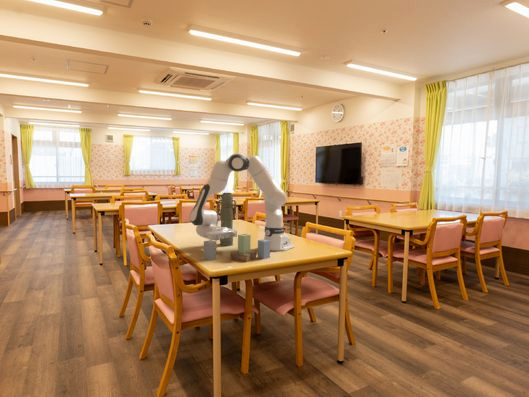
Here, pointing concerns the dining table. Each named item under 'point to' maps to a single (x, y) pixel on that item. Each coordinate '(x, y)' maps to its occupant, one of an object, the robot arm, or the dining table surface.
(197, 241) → the dining table surface
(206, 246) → the grey block
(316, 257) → the dining table surface
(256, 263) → the dining table surface
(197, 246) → the dining table surface
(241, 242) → the green block
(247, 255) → the walnut brick
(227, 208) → the thermos
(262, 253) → the blue block
